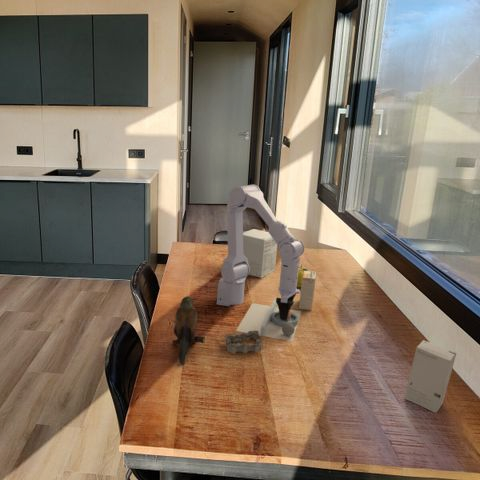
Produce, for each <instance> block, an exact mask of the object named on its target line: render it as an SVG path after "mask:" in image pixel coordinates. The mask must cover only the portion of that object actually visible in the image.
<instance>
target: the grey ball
mask: <svg viewBox="0 0 480 480" xmlns="http://www.w3.org/2000/svg"><path fill="white" fill-rule="evenodd" d="M294 331H295V328H294V326H293V324H291V323H285V324H284V325H283V326H282V332H283V333H284V334H285V335H287V336H290V335H292V334H293V333H294ZM295 332H296V331H295Z"/></svg>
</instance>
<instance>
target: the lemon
mask: <svg viewBox="0 0 480 480" xmlns="http://www.w3.org/2000/svg"><path fill="white" fill-rule="evenodd" d="M304 271H309V270H308V269H307V268H303V264H301V265H300V266H299V271H298V280H297V287H298V288H301V285H302V277H303V272H304Z"/></svg>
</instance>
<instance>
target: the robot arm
mask: <svg viewBox="0 0 480 480" xmlns="http://www.w3.org/2000/svg"><path fill="white" fill-rule="evenodd" d="M226 204H227V205H226V224H227V226H226V227H227V256H226V257H225V258H224V259H223V261H222V267H221V270H220V271H221V273H220V275H221V278H219V281H218V285H217V296H216V297H217V299H216V305H218V306H225V307H230V306H236V305H241V304H243V303H244V298H245V286H246V285H245V284H246V280H247V277H248V276H250V275H249V273H250V267H249V265H248V259H247V257H246V256H244V254H243V232H244V224H243V223H244V220H243V219H244V218H243V217H244V216H243V212H244V211H245V210H246V209H247V208H249V209H253V210H255V212H257V214H258V216H259V217H261V219H262V220H263V221H264V222H265V223H266V225H267V226H268V231H267V232H269V234H270V235H271V236H272V238H273V239H274V241H275V242H276V244H277V247H278V248H279V249H278V253H279V257H281V259H280V260H281V261H280V263H281V265H280V276H279V277H280V278H279V285H278V286H279V287H278V292H279V295H280V297H276V298H275V299H276V303H277V307H278V308H279V315H280V319H283V320H287V317H288V314H289V310H290V309H291V310H292V306H293V305H294V302H295V301H294V299H295V297H296V295H297V294H299V295H300V294H301V289H299V288H298V289H297V287H298V286H297V280H298V271H299V270H300V268H299V267H300V262H301V261H300V260H301V256H303V254H304V252H305V247H304V244H303V242H302V240H300V239H299V238H296V237H295V236H294V235H293V233H292V232H291V231H290V230H289V229H288V225H287V224H286V223H284V222H283V221H280V220H278V219H277V218H276V216H275V215H274V213H273V211H272V209H271V208H270V206H269V205H268V203H267V201H266V199H265V198H264V192H263V191H261V189H260V186H258V185H256V184H254V183H253V184H248V185H241V186H239V185H236V186H234V187H232V189H231V190H230V191H228V201H227V203H226Z"/></svg>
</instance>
